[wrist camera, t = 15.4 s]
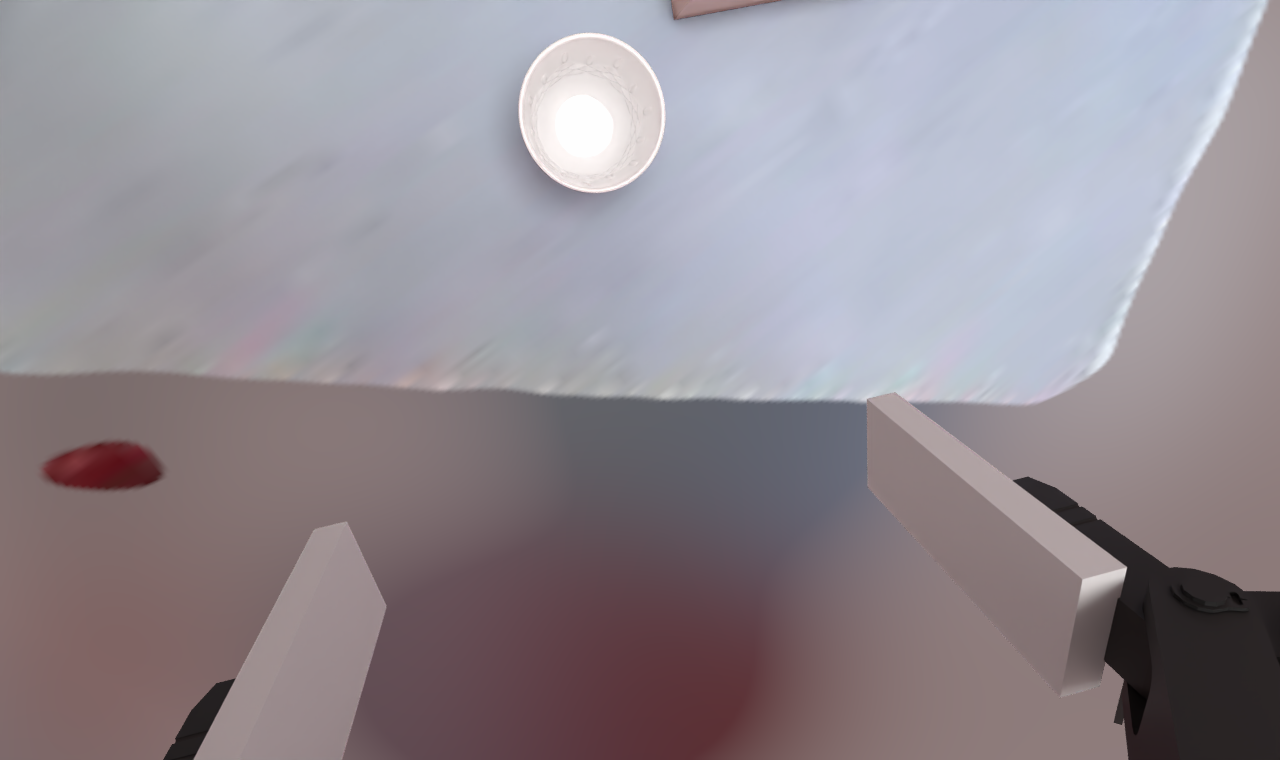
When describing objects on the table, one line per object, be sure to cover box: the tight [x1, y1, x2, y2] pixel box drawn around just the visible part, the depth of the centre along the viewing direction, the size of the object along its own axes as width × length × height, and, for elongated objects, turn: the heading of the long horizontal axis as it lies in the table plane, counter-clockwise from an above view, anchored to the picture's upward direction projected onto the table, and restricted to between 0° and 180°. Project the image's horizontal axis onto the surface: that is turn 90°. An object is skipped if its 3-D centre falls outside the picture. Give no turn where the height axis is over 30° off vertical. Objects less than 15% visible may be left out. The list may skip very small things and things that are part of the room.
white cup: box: [518, 33, 665, 193], centre depth 37 cm, size 8×8×10 cm
